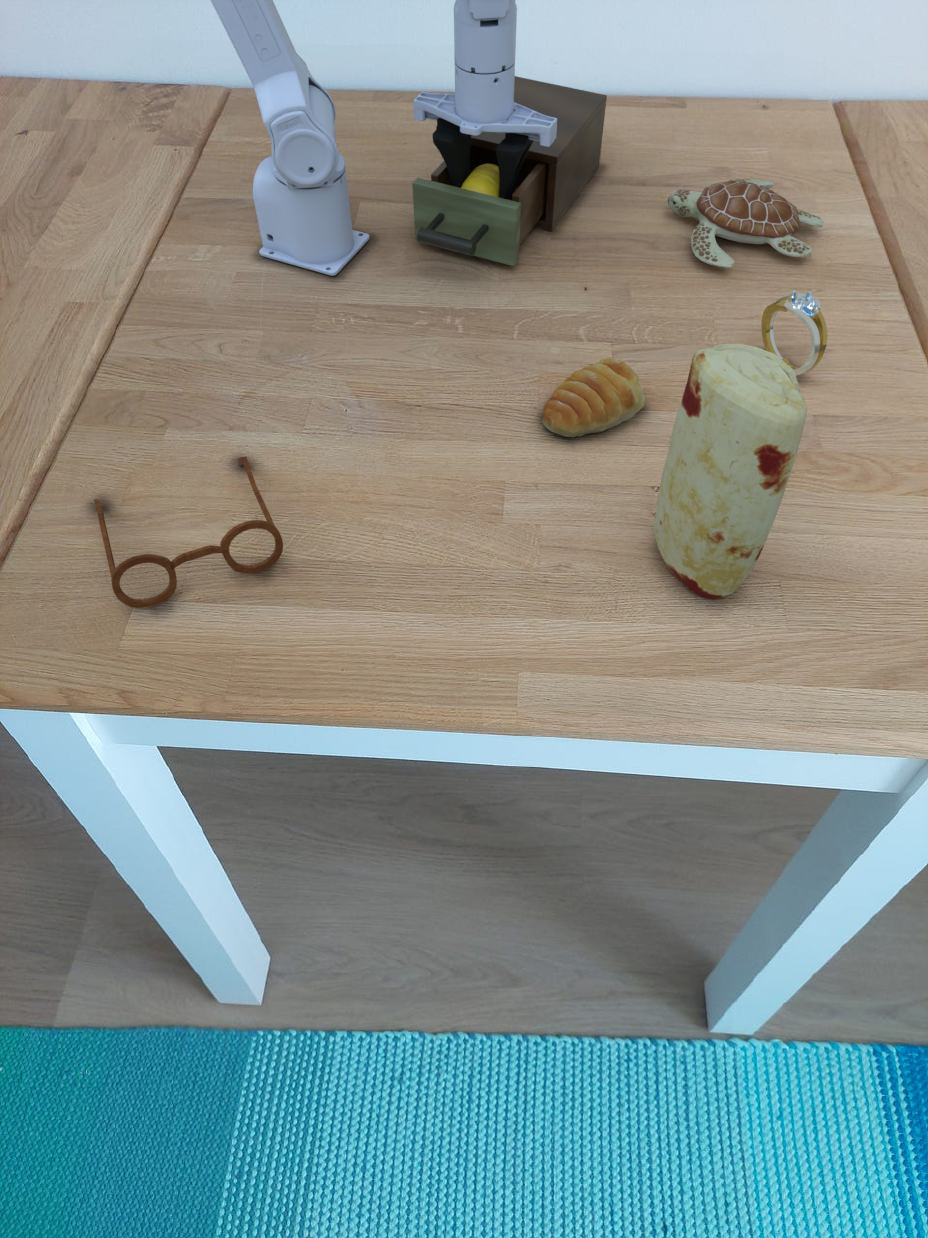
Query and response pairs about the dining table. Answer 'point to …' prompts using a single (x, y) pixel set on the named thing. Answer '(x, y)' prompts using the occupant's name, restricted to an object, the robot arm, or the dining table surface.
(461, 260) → the dining table surface
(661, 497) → the food model
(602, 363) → the pastry
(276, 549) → the glasses
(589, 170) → the cabinet
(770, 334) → the ring
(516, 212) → the drawer
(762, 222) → the decorative turtle
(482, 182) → the yellow capsule container
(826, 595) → the dining table surface
